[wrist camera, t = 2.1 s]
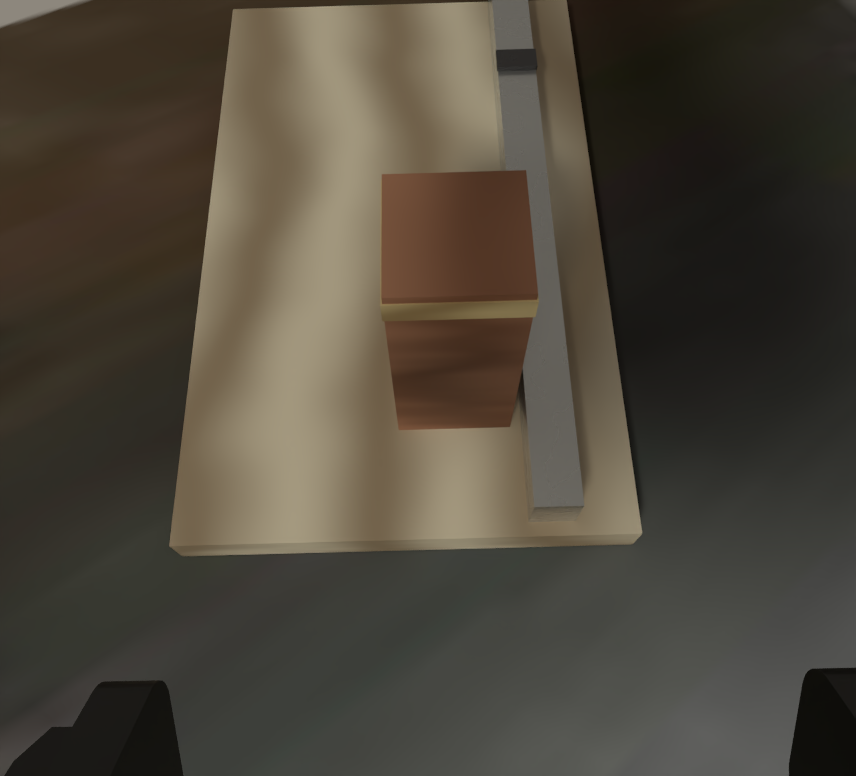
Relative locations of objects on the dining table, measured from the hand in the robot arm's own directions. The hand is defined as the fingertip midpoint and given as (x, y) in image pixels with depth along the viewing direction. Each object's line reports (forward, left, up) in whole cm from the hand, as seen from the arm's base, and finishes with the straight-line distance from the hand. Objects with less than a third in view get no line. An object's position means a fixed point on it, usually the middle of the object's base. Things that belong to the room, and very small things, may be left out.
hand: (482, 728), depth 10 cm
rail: (+3, +19, -15) cm, 25 cm away
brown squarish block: (0, +12, -15) cm, 20 cm away
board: (-2, +19, -17) cm, 26 cm away
